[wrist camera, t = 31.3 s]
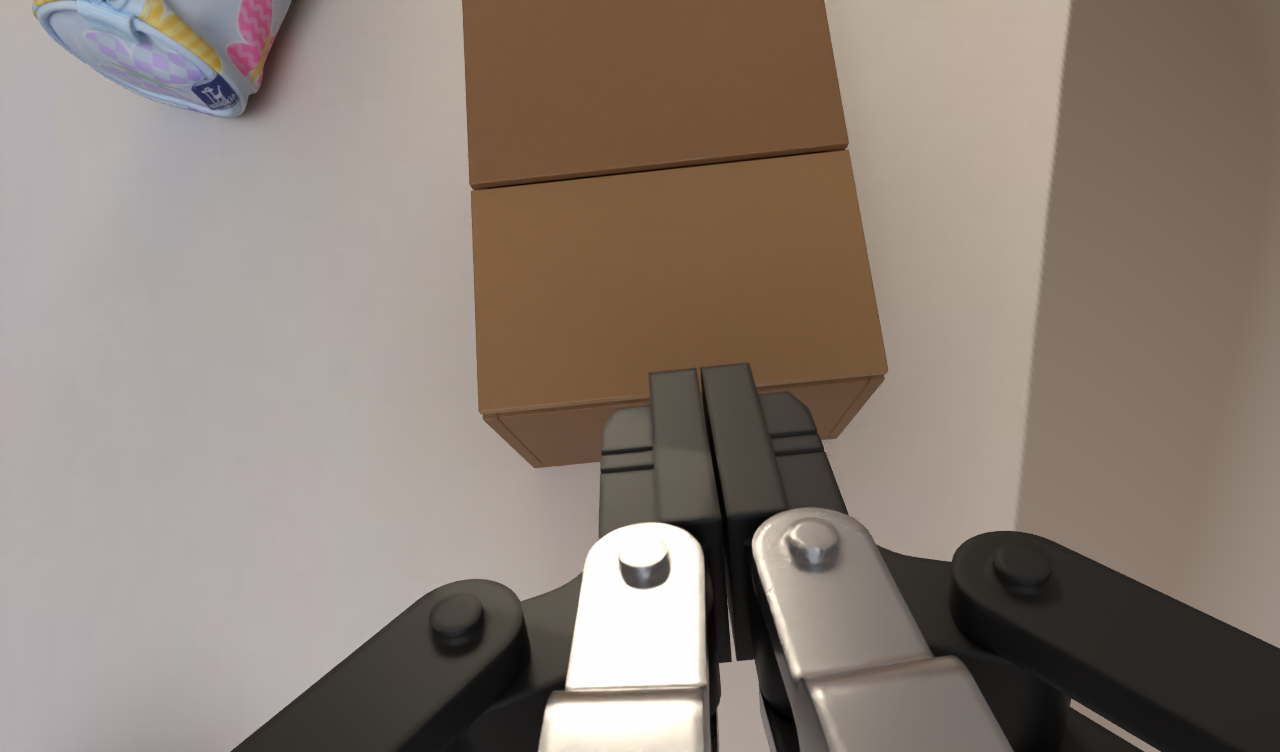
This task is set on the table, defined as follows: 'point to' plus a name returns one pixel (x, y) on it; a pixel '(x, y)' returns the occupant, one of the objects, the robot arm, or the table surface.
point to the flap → (671, 280)
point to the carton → (646, 130)
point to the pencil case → (171, 46)
